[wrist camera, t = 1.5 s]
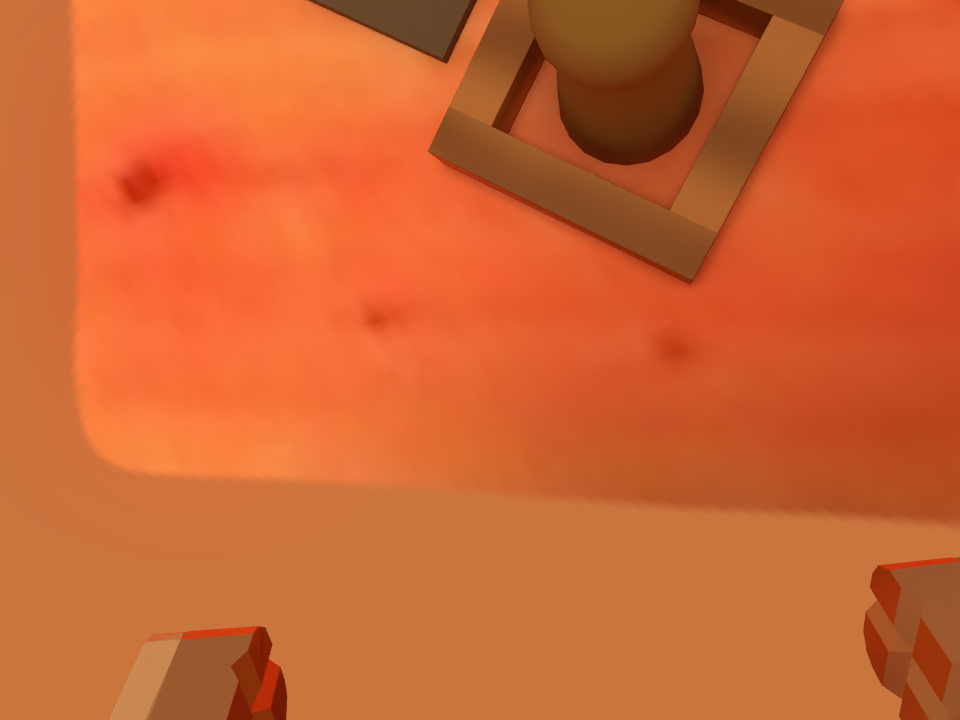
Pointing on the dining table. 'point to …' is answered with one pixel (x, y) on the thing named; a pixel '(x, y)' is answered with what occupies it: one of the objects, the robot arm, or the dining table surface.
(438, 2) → the rubber mat
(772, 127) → the walnut housing
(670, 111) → the cork
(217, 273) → the dining table surface
